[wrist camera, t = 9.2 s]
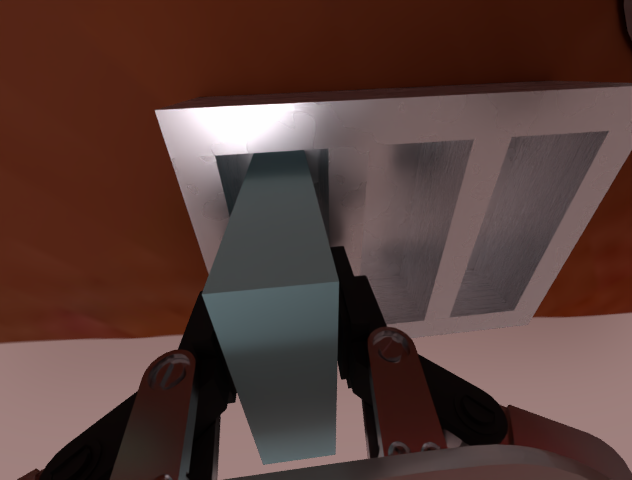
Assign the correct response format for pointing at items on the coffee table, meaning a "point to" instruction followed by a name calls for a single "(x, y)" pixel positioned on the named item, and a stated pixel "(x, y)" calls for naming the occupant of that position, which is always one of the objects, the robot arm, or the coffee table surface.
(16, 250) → the coffee table surface
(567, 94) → the frame
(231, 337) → the panel
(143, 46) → the coffee table surface
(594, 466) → the robot arm
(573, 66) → the coffee table surface
